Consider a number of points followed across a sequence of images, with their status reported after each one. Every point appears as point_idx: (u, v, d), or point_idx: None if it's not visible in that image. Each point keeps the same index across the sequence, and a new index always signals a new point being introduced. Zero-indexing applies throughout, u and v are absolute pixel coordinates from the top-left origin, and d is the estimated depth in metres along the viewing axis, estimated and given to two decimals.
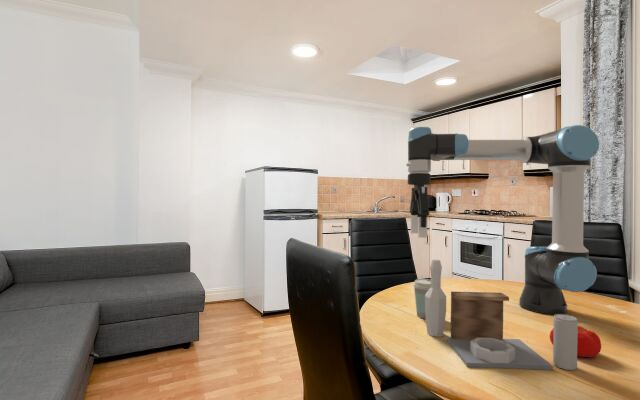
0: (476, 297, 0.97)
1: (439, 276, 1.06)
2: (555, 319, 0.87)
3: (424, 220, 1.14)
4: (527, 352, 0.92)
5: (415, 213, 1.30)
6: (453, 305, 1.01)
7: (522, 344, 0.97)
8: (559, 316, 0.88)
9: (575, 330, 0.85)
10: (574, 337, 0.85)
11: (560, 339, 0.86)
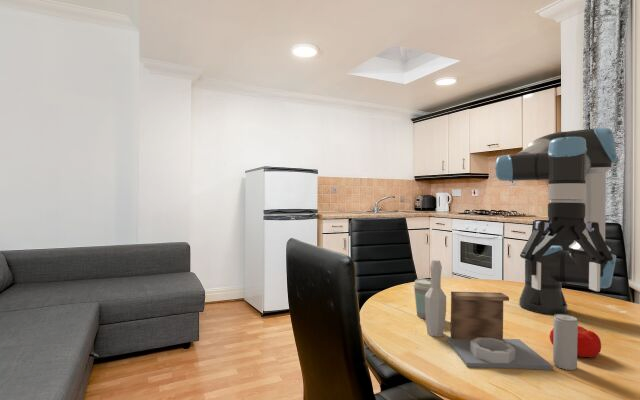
0: (476, 297, 0.97)
1: (439, 276, 1.06)
2: (555, 319, 0.87)
3: (530, 265, 0.87)
4: (527, 352, 0.92)
5: (597, 260, 0.86)
6: (453, 305, 1.01)
7: (522, 344, 0.97)
8: (559, 316, 0.88)
9: (575, 330, 0.85)
10: (574, 337, 0.85)
11: (560, 339, 0.86)
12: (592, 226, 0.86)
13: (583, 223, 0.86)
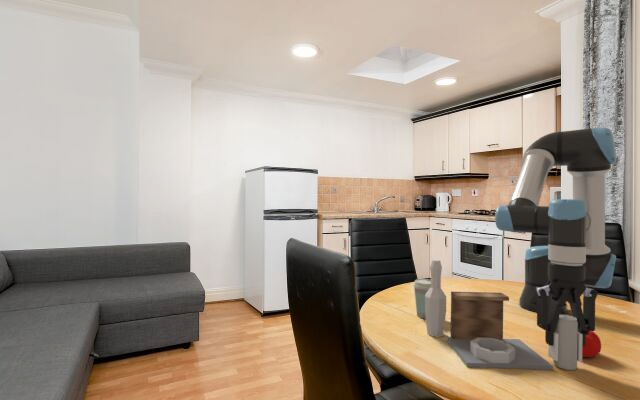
0: (476, 297, 0.97)
1: (439, 276, 1.06)
2: None
3: (547, 335, 0.87)
4: (527, 352, 0.92)
5: (579, 330, 0.86)
6: (453, 305, 1.01)
7: (522, 344, 0.97)
8: (559, 316, 0.88)
9: (575, 330, 0.85)
10: (574, 337, 0.85)
11: (560, 339, 0.86)
12: (591, 292, 0.86)
13: (584, 286, 0.86)
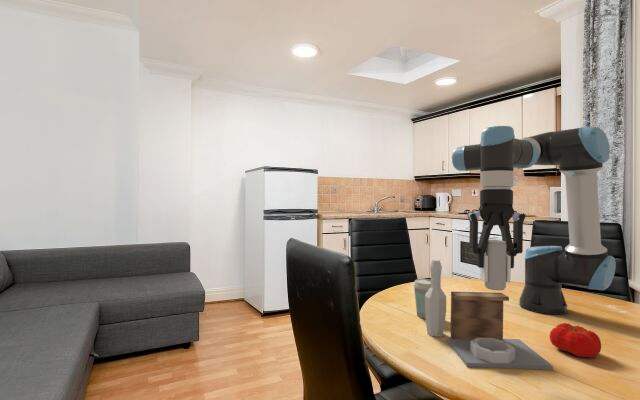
0: (476, 297, 0.97)
1: (439, 276, 1.06)
2: None
3: (478, 258, 0.90)
4: (527, 352, 0.92)
5: (508, 252, 0.90)
6: (453, 305, 1.01)
7: (522, 344, 0.97)
8: (490, 241, 0.91)
9: (503, 252, 0.88)
10: (502, 258, 0.88)
11: (489, 261, 0.89)
12: (519, 216, 0.89)
13: (512, 210, 0.89)
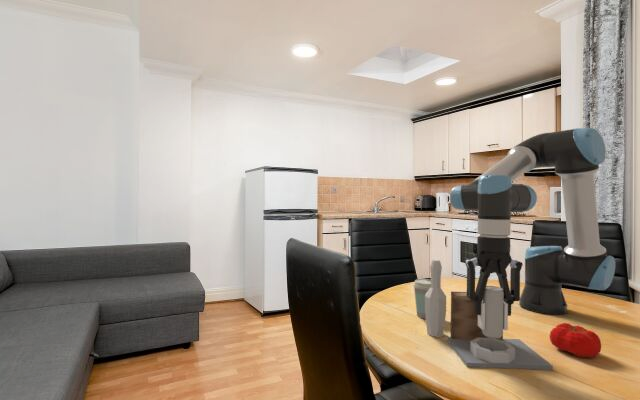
0: None
1: (439, 276, 1.06)
2: None
3: (475, 305, 0.91)
4: (527, 352, 0.92)
5: (505, 300, 0.90)
6: (453, 305, 1.01)
7: (522, 344, 0.97)
8: (487, 287, 0.91)
9: (500, 300, 0.88)
10: (499, 307, 0.88)
11: (487, 309, 0.89)
12: (516, 264, 0.90)
13: (510, 258, 0.89)
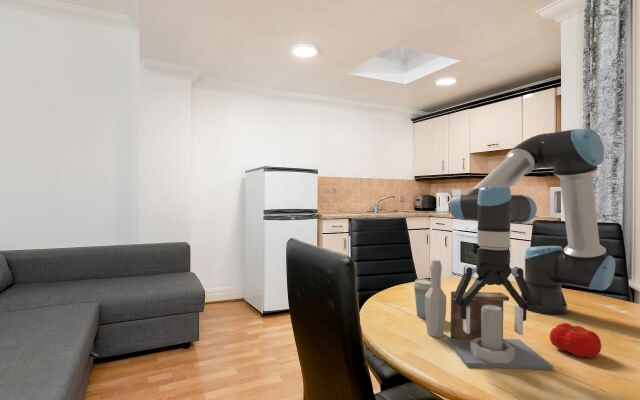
0: (476, 297, 0.97)
1: (439, 276, 1.06)
2: (482, 309, 0.91)
3: (460, 309, 0.91)
4: (527, 352, 0.92)
5: (520, 305, 0.90)
6: (453, 305, 1.01)
7: (522, 344, 0.97)
8: (486, 306, 0.92)
9: (499, 320, 0.88)
10: (498, 327, 0.88)
11: (486, 328, 0.89)
12: (517, 272, 0.90)
13: (509, 269, 0.89)
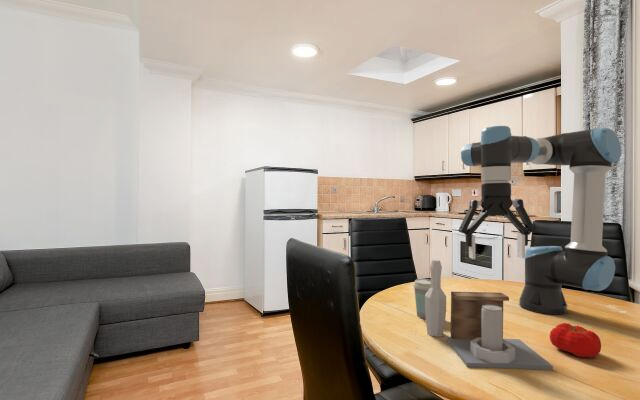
0: (476, 297, 0.97)
1: (439, 276, 1.06)
2: (482, 309, 0.91)
3: (466, 238, 1.01)
4: (527, 352, 0.92)
5: (522, 232, 1.00)
6: (453, 305, 1.01)
7: (522, 344, 0.97)
8: (486, 306, 0.92)
9: (499, 320, 0.89)
10: (499, 326, 0.89)
11: (486, 328, 0.89)
12: (518, 202, 1.00)
13: (510, 200, 0.99)
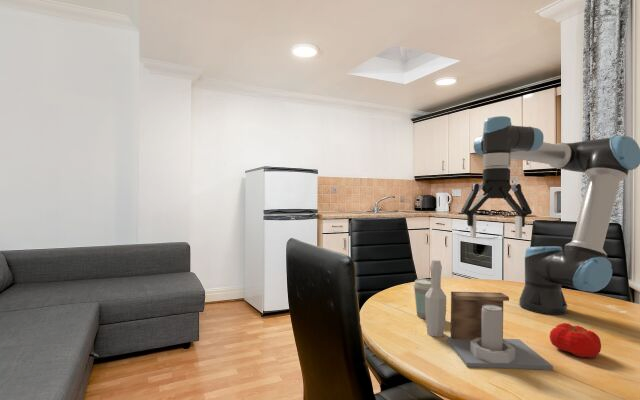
0: (476, 297, 0.97)
1: (439, 276, 1.06)
2: (482, 309, 0.91)
3: (468, 218, 1.10)
4: (527, 352, 0.92)
5: (520, 214, 1.09)
6: (453, 305, 1.01)
7: (522, 344, 0.97)
8: (487, 306, 0.92)
9: (499, 320, 0.88)
10: (499, 327, 0.88)
11: (486, 328, 0.89)
12: (516, 187, 1.09)
13: (509, 184, 1.09)
